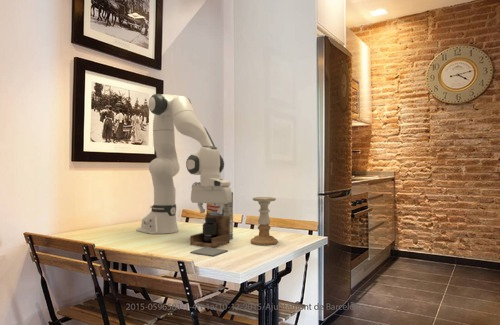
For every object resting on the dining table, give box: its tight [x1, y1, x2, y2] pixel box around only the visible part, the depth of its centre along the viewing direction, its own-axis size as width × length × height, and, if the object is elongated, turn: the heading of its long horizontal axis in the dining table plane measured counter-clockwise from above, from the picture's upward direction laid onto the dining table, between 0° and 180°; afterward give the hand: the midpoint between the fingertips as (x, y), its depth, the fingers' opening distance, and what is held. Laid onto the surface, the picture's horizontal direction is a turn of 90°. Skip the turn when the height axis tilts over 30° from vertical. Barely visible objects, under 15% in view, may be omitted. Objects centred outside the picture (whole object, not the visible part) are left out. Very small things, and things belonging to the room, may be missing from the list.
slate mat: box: [190, 247, 228, 257], centre depth 144 cm, size 11×10×1 cm
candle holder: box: [250, 196, 279, 246], centre depth 164 cm, size 12×12×20 cm
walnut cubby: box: [189, 214, 231, 248], centre depth 160 cm, size 12×12×12 cm
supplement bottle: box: [201, 216, 218, 244], centre depth 160 cm, size 7×7×12 cm
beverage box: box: [205, 191, 234, 240], centre depth 173 cm, size 7×11×22 cm, turn 52°
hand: (211, 213), depth 160 cm, fingers open, 8 cm apart
